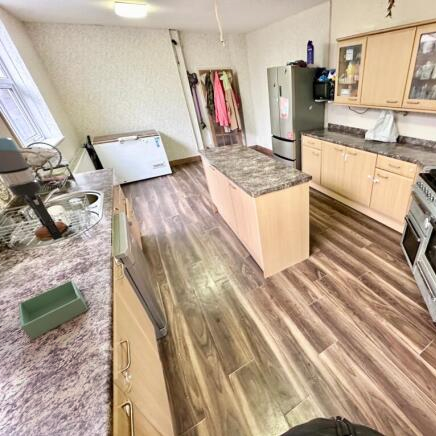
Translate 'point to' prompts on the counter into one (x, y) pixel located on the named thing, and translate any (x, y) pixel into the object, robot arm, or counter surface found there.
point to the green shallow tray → (51, 309)
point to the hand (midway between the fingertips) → (54, 234)
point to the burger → (44, 235)
